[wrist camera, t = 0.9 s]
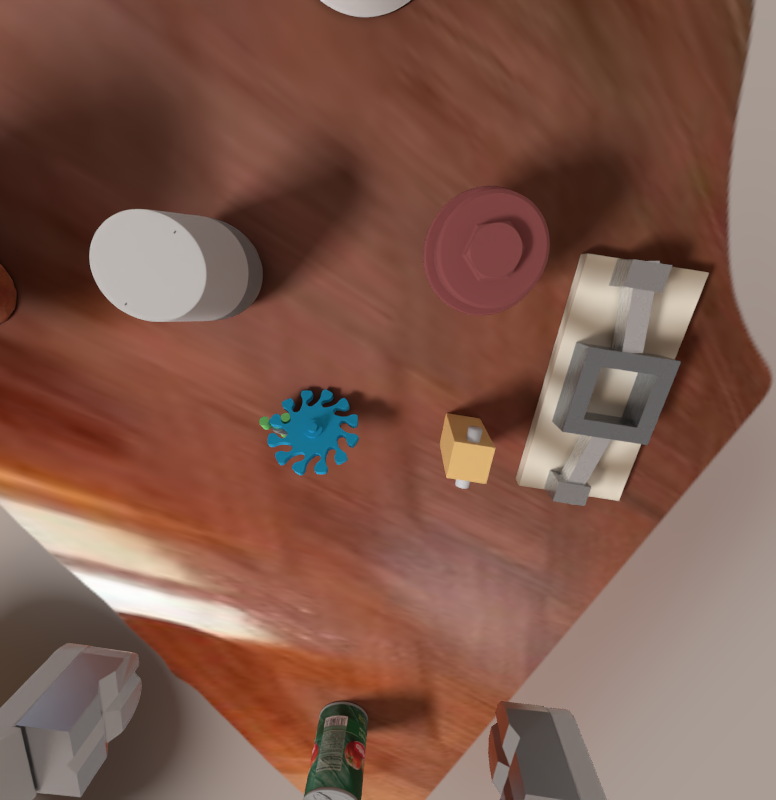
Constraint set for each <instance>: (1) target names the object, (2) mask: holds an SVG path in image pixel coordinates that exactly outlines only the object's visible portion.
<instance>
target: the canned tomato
mask: <svg viewBox="0 0 776 800" xmlns="http://www.w3.org/2000/svg"><path fill="white" fill-rule="evenodd" d="M367 725H368V716H367V714H366V712H365V711H364V710H363V709H362V708H361V707H360V706H358V705H356V704H353V703H350V702H344V701H339V702H333V703H330V704H328V705H327V706H325V707H324V708H323V709H322V711H321V712H320V717H319V723H318V728H317V733H316V738H315V743H314V749H313V753H312V758H311V763H310V769H309V773H308V778H307V783H306V788H305V794H304V799H303V800H361V796H362V783H363V773H364V761H365V749H366V737H367Z"/></svg>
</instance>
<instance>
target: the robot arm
mask: <svg viewBox="0 0 776 800" xmlns="http://www.w3.org/2000/svg"><path fill="white" fill-rule="evenodd" d="M320 1H322V2H323V3H324V4H326V5H327V6H329V7H331V8H332V9H334V10H336V11H339V12H341V13H344V14H347V15H351V16H356V17H374V16H380V15H384V14H387V13H390V12H392V11H394V10H397V9H398V8H400V7H402V6H403V5H405V4H406V3H408V2H409V1H410V0H320ZM138 666H139V659H138V654H137V653H131V652H125V651H118V650H111V649H105V648H99V647H92V646H87V645H79V644H72V643H67V644H65V645H64V646H62V647H61V648H59V649H57V650H56V651H55V652H54V653H53V654H52V656H50V657H49V659H48V660H47V661H46V662H45V663H44V664H43V665H42V666H41V667H40V668H39V669H38V670H37V671H36V672H35V673H34V674H33V675H32V676H31V677H30V678H29V679H28V680H27V681H26V682H25V684H23V685H22V686H21V687H20V689H19V690H18V691H17V692H16V693H15V694H14V695H13V696H12V697H11V698H10V699H9V700H8V701H7V702H6V703H5V704H4V705H3V706H2V707H1V708H0V800H32V799H33V798H34V797H35V796H36V793H45V794H55V795H66V796H75V797H81V796H82V794H83V793H84V791H85V789H86V788H87V786H88V785H89V783H90V782H91V780H92V779H93V777H94V776H95V774H96V772H97V771H98V769H99V768H100V766H101V765H102V763H103V762H104V760H105V758H106V757H107V744H108V742H109V741H111V740H112V739H113V738H115V737H116V736H117V735H118V734H120V733H121V732H123V730H124V729H125V727H126V725H127V724H128V722H129V720H130V719H131V717H132V716H133V713H134V711H135V709H136V706H137V704H138V701H139V698H140V693H141V679H140V678H139V677H138V676H137V675H136V673H135V672H134V671H135V670H136V669H137V667H138ZM495 713H496V718H497V723H496V724H495V725H493V726H492V727H491V731H490V735H489V751H488V754H489V765H490V772H491V778H492V782H493V784H494V785H495V787H496V788H497V790H498V791H499V793H500V794H501V798H500V800H607V798H606V796H605V793H604V791H603V788H602V786H601V783H600V781H599V778H598V776H597V773H596V771H595V768H594V766H593V763H592V761H591V758H590V755H589V753H588V750H587V748H586V746H585V743H584V740H583V738H582V735H581V733H580V730H579V728H578V725H577V723H576V720H575V718H574V716H573V715H572V713H571V712H570V711H568V710H566V709H556V708H547V707H544V706H539V705H529V704H521V703H512V702H504V701H501V702H500V703H498V705H497V709H496V712H495Z"/></svg>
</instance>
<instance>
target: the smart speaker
mask: <svg viewBox="0 0 776 800" xmlns="http://www.w3.org/2000/svg"><path fill="white" fill-rule="evenodd" d="M89 261H90V268H91V271H92V274H93V277H94V279H95V281H96V284H97V285H98V287H99V289H100V290H101V291H102V293H103V294H104V295H105V297H106V298H107V299H108V300H109V301H110V302H111V303H112V304H113V305H115V306H116V307H117V308H119V309H120V310H122V311H123V312H125V313H127V314H129V315H131V316H133V317H136V318H138V319H142V320H147V321H154V322H172V321H211V320H220V319H225V318H229V317H233V316H235V315H237V314H239V313H241V312H243V311H244V310H246V309H247V308H248V307H249V306H250V305H251V304H252V303H253V302H254V301H255V299H256V298H257V296H258V294H259V292H260V289H261V286H262V281H263V269H262V264H261V260H260V257H259V255H258V253H257V251H256V249H255V247H254V246H253V244H252V243H251V242H250V240H249V239H248V238H247V237H246V236H245V235H244V234H243V233H242V232H240V231H239V230H238V229H236V228H235V227H233V226H231V225H230V224H228V223H225V222H223V221H220V220H217V219H213V218H209V217H204V216H198V215H190V214H181V213H173V212H165V211H157V210H148V209H130V210H125V211H121V212H118V213H116V214H114V215H113V216H111V217H109V218H108V219H107V220H105V221H104V222H103V223H102V224H101V226H100V227H99V228H98V229H97V231H96V233H95V234H94V237H93V239H92V242H91V246H90V253H89Z"/></svg>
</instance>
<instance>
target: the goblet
mask: <svg viewBox="0 0 776 800" xmlns="http://www.w3.org/2000/svg"><path fill="white" fill-rule="evenodd" d="M16 295H17V292H16V289H15V286H14V283H13V280H12V278H11V277H10V276H9V274H8V273H7V271H6V270H5V269H4V267H3V266H2V265H1V264H0V323H2V322H4V321H6V320H7V319H8V318H9V316H10V315H11V313H12V312H13V311H14V310H15V306H16Z"/></svg>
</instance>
